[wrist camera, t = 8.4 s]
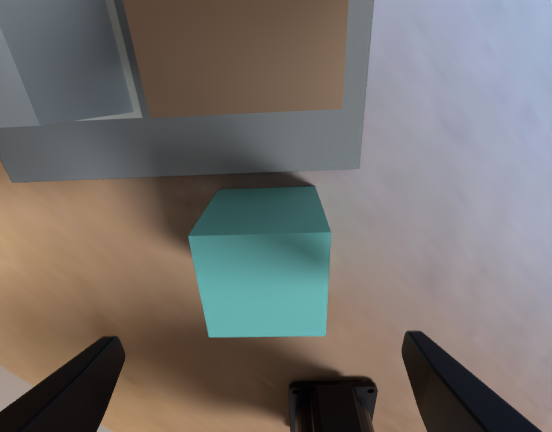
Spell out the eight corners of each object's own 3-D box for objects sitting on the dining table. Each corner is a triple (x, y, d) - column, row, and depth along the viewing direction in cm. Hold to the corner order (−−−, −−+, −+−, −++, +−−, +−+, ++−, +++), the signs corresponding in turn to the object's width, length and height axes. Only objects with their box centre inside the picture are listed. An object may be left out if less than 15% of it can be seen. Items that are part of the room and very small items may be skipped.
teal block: (313, 266, 16) (325, 336, 11) (229, 267, 16) (208, 337, 12) (314, 185, 14) (331, 232, 9) (218, 188, 14) (188, 235, 9)
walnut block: (318, 101, 11) (342, 108, 7) (201, 107, 12) (150, 118, 7) (321, -56, 9) (359, -197, 5) (178, -46, 9) (82, -172, 5)
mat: (355, 165, 13) (359, 168, 13) (22, 178, 14) (10, 183, 13) (380, -131, 9) (387, -147, 8) (-104, -92, 10) (-130, -104, 9)
